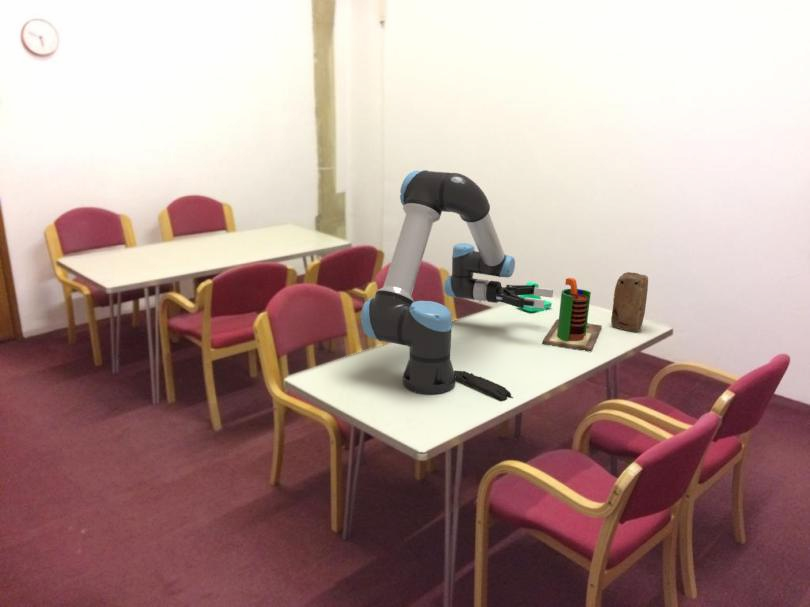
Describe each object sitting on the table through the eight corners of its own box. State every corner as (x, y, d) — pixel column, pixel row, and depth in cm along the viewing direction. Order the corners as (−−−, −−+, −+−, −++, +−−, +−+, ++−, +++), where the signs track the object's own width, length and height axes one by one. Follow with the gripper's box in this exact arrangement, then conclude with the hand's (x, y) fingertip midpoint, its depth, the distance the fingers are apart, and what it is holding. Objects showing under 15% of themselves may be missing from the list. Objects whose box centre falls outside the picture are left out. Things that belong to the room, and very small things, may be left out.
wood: (520, 396, 188) (520, 386, 187) (502, 403, 183) (503, 393, 182) (462, 372, 204) (463, 362, 203) (445, 378, 199) (445, 368, 198)
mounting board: (542, 344, 226) (542, 335, 225) (556, 322, 248) (557, 313, 247) (591, 351, 220) (591, 342, 219) (601, 328, 242) (602, 320, 241)
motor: (576, 343, 223) (582, 285, 217) (551, 337, 228) (556, 280, 222) (589, 335, 230) (594, 279, 224) (564, 329, 235) (569, 274, 229)
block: (644, 328, 242) (651, 274, 236) (637, 334, 237) (644, 279, 231) (615, 322, 249) (621, 269, 243) (607, 327, 243) (613, 273, 237)
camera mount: (530, 314, 257) (532, 288, 253) (516, 309, 262) (518, 283, 259) (552, 309, 263) (554, 283, 260) (537, 304, 269) (539, 279, 266)
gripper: (497, 292, 248) (555, 299, 240) (476, 311, 226) (539, 320, 218) (498, 272, 246) (556, 279, 238) (477, 289, 224) (541, 297, 216)
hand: (548, 298), depth 228 cm, fingers open, 13 cm apart
